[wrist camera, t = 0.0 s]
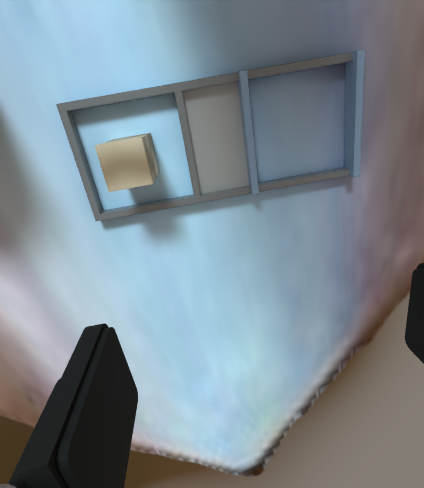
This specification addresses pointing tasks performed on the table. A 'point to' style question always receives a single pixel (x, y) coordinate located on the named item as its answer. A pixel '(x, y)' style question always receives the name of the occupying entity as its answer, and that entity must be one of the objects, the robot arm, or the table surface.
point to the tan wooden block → (128, 162)
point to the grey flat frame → (224, 134)
